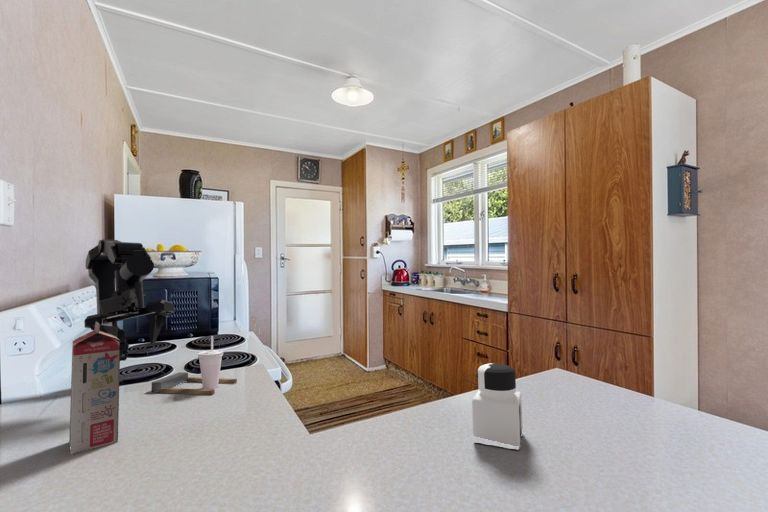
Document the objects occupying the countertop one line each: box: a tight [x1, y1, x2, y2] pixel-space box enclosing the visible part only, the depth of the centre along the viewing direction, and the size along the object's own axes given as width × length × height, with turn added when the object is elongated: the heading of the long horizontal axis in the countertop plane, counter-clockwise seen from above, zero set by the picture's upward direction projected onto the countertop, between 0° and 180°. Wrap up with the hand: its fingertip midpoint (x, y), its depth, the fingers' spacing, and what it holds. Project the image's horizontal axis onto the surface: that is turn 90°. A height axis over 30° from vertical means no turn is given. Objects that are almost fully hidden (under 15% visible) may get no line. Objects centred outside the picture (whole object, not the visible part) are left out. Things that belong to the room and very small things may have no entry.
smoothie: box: [197, 335, 224, 390], centre depth 99 cm, size 6×6×14 cm
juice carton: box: [68, 322, 121, 455], centre depth 67 cm, size 7×7×22 cm
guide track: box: [151, 371, 238, 396], centre depth 99 cm, size 18×11×2 cm, turn 80°
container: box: [471, 362, 524, 447], centre depth 65 cm, size 8×8×13 cm
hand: (133, 348), depth 88 cm, fingers open, 9 cm apart
